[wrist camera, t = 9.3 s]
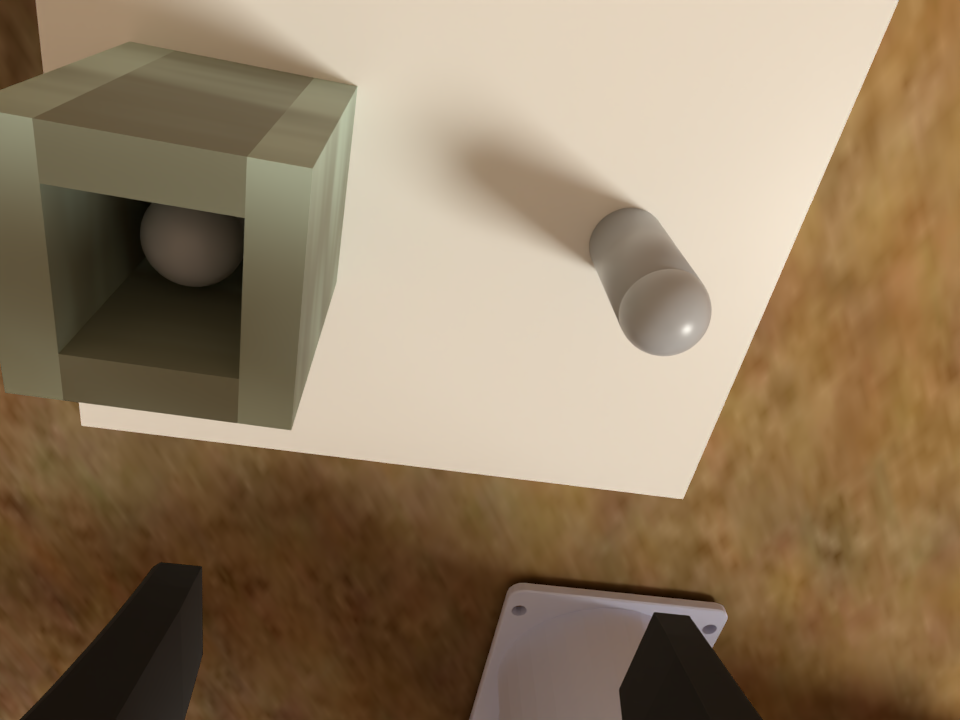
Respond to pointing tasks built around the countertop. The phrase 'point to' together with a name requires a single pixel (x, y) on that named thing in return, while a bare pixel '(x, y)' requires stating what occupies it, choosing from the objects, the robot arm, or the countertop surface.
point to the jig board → (524, 215)
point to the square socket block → (176, 182)
